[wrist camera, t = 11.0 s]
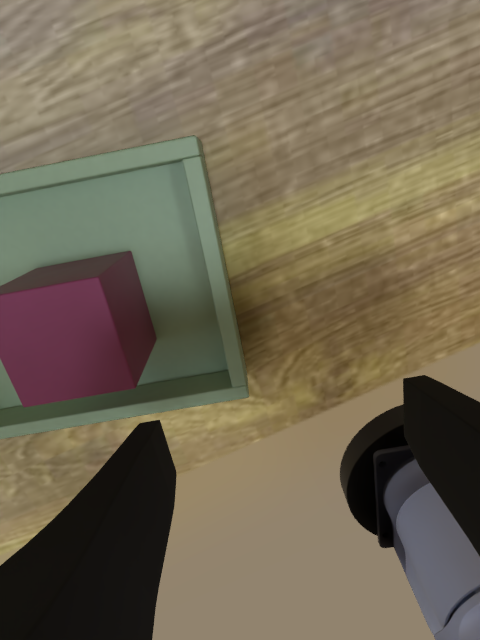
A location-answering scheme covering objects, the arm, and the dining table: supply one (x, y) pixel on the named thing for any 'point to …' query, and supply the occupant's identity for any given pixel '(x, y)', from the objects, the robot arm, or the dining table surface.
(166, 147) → the tray
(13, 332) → the mulberry block
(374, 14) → the dining table surface
